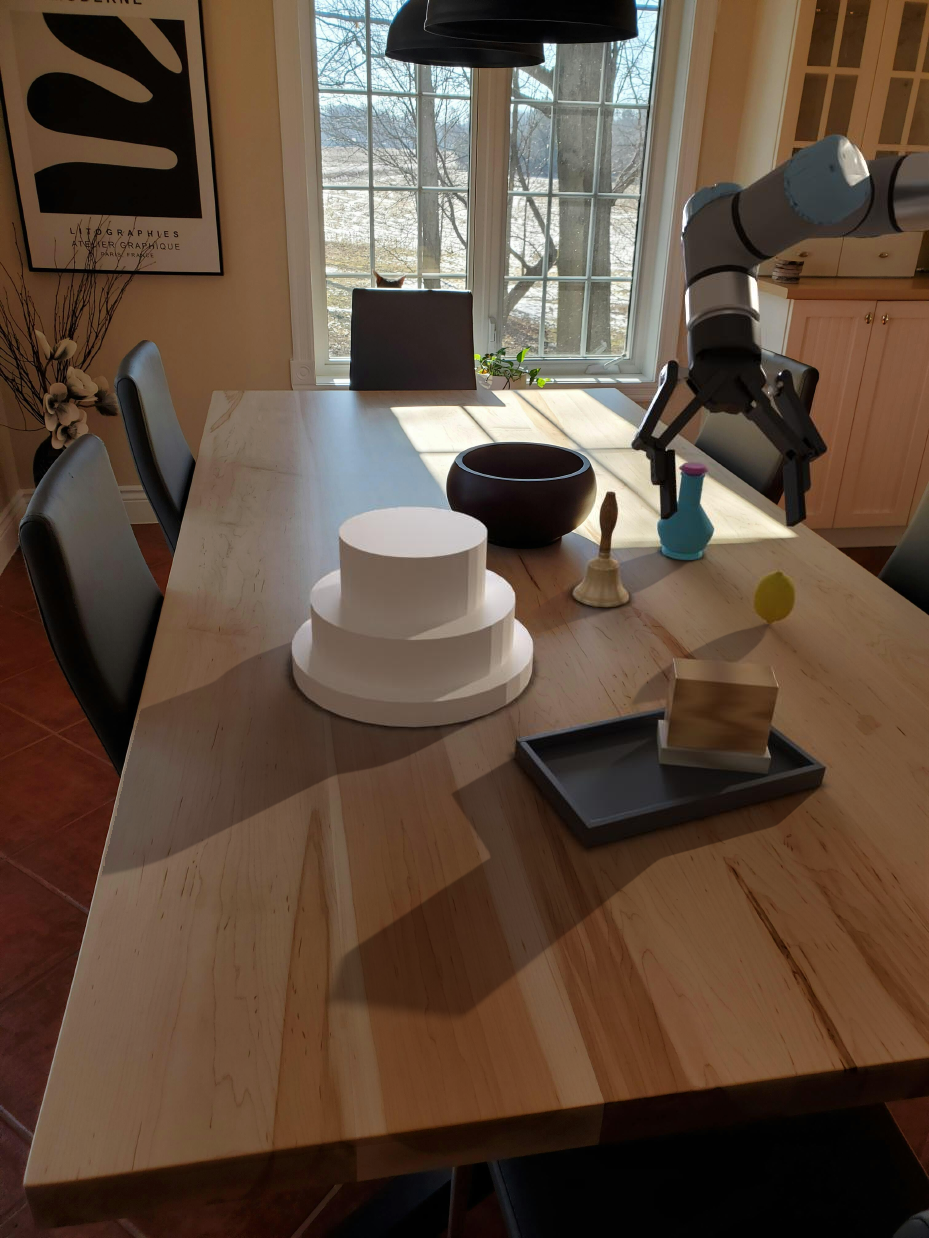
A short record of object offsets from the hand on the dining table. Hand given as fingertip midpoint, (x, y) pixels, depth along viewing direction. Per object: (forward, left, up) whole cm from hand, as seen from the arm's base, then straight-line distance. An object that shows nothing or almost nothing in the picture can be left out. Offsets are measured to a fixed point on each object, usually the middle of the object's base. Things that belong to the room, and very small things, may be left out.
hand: (733, 519), depth 91 cm
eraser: (-6, +3, -24) cm, 25 cm away
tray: (-6, +9, -25) cm, 27 cm away
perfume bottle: (+46, -29, -25) cm, 60 cm away
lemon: (+19, -25, -25) cm, 40 cm away
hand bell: (+35, -7, -25) cm, 43 cm away
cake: (+25, +26, -25) cm, 44 cm away
